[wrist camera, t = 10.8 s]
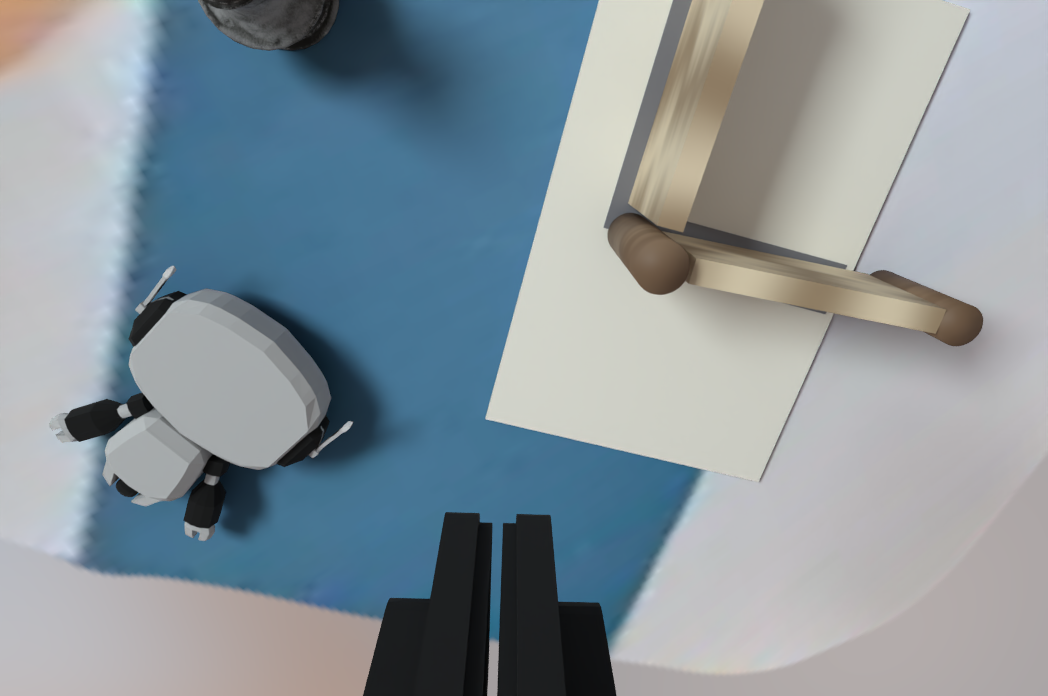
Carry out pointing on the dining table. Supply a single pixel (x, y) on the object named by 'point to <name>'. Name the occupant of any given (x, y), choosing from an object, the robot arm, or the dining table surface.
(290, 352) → the robot toy
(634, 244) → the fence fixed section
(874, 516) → the dining table surface
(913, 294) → the fence swing section
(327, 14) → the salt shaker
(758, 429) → the card
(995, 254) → the dining table surface
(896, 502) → the dining table surface
